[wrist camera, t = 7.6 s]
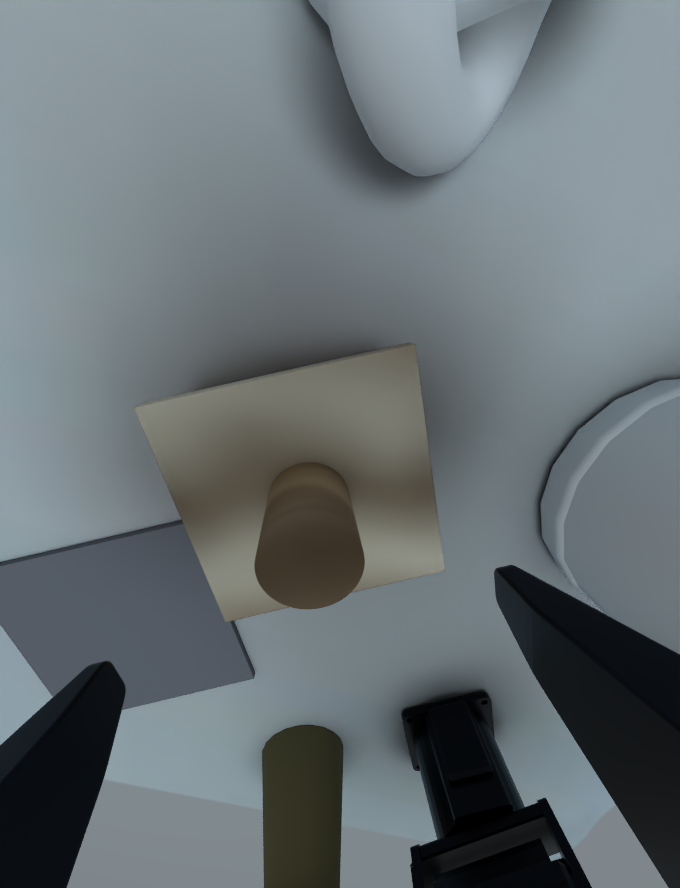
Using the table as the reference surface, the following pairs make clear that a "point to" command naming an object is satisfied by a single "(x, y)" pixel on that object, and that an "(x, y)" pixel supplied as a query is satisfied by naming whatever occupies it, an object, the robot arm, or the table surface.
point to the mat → (123, 615)
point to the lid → (303, 480)
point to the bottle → (623, 511)
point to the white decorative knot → (430, 71)
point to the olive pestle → (302, 808)
